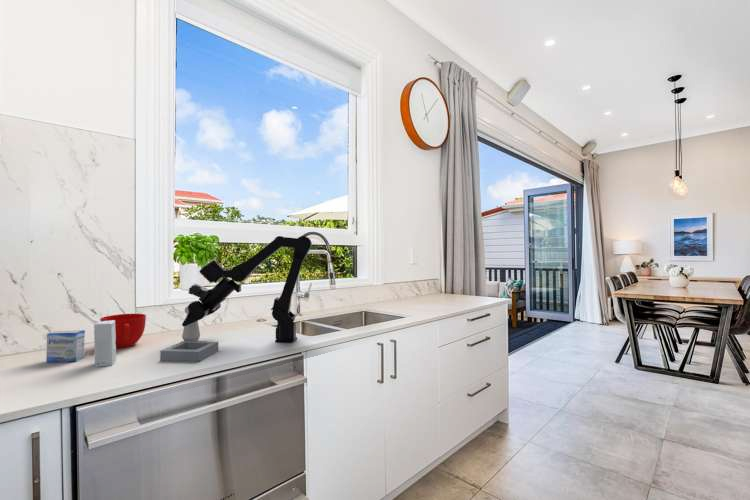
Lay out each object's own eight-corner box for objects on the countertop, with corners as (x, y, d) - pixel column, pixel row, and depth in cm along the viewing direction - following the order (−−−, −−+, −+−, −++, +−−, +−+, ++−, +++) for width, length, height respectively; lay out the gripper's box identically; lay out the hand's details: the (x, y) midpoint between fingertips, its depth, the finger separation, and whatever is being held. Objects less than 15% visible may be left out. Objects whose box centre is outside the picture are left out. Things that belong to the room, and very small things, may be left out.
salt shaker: (192, 344, 130) (192, 307, 130) (178, 343, 132) (178, 307, 132) (203, 340, 136) (203, 305, 136) (189, 339, 137) (190, 304, 137)
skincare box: (112, 365, 107) (112, 323, 107) (93, 367, 105) (93, 324, 105) (116, 359, 112) (116, 319, 112) (98, 361, 110) (98, 320, 110)
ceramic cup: (102, 355, 116) (102, 323, 116) (99, 344, 130) (99, 316, 130) (150, 349, 125) (150, 319, 125) (143, 339, 138) (143, 312, 138)
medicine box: (45, 363, 109) (45, 333, 109) (55, 358, 113) (55, 330, 113) (76, 361, 110) (76, 332, 110) (85, 357, 114) (85, 329, 114)
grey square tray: (218, 350, 123) (218, 341, 123) (199, 361, 111) (199, 351, 111) (183, 349, 124) (183, 340, 124) (160, 360, 112) (160, 350, 112)
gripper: (212, 274, 144) (181, 303, 142) (194, 278, 125) (159, 311, 124) (233, 295, 145) (203, 323, 143) (218, 301, 126) (183, 335, 125)
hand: (187, 323), depth 134 cm, fingers open, 9 cm apart
